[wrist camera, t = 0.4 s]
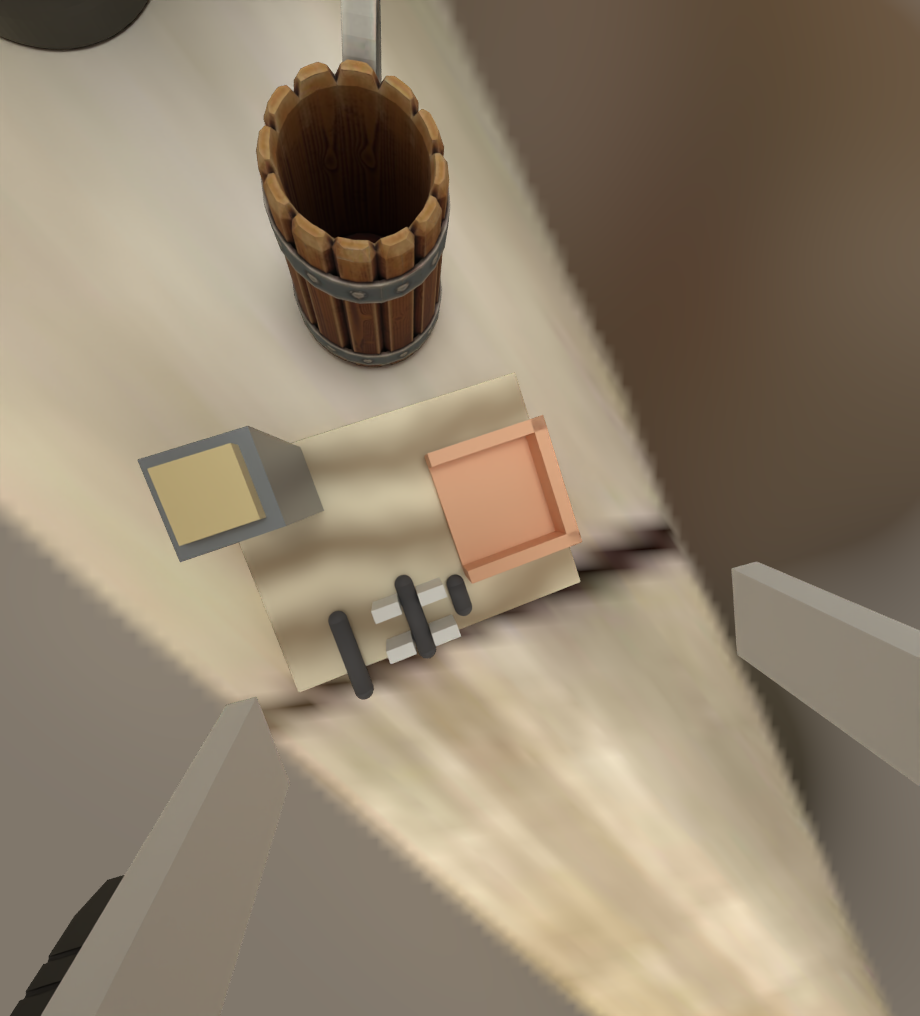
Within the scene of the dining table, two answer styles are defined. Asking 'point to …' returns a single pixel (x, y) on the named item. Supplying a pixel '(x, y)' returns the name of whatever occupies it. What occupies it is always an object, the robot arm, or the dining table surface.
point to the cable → (415, 620)
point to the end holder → (503, 498)
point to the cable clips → (404, 642)
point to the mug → (357, 199)
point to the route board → (385, 533)
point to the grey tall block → (229, 489)
